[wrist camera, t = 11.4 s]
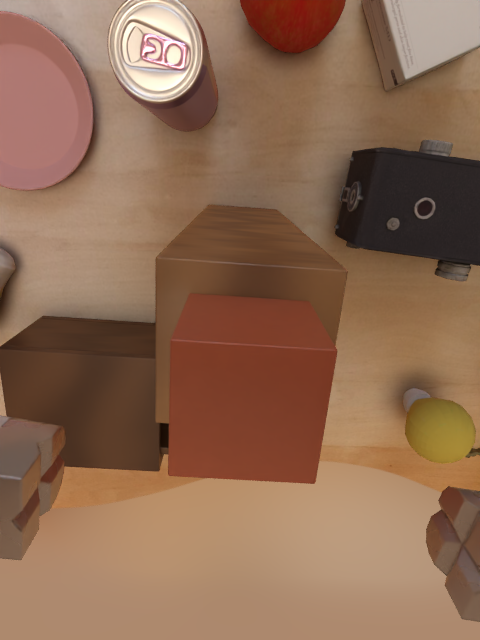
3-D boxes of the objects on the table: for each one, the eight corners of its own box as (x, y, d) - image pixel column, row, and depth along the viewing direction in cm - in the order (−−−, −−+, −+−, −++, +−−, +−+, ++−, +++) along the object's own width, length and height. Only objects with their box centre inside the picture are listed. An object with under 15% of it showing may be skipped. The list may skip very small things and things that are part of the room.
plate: (131, 110, 38) (125, 106, 36) (40, 220, 41) (31, 222, 39) (2, -23, 34) (-12, -34, 33) (-86, 109, 38) (-102, 106, 36)
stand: (277, 209, 41) (348, 270, 15) (270, 276, 43) (321, 433, 17) (208, 204, 41) (155, 256, 14) (205, 272, 43) (155, 423, 17)
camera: (323, 245, 43) (466, 264, 43) (338, 267, 33) (527, 293, 32) (344, 138, 40) (499, 156, 39) (367, 123, 29) (582, 148, 28)
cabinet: (174, 324, 45) (159, 359, 37) (172, 420, 49) (159, 471, 41) (42, 315, 45) (-4, 348, 36) (52, 413, 49) (13, 463, 40)
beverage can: (211, 139, 39) (195, 117, 25) (149, 123, 38) (98, 92, 24) (224, 69, 37) (216, 2, 23) (160, 52, 36) (110, -28, 22)
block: (309, 300, 15) (338, 349, 11) (295, 405, 17) (315, 484, 12) (189, 292, 15) (170, 338, 11) (185, 399, 16) (167, 476, 12)
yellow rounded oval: (437, 365, 47) (487, 412, 38) (444, 413, 49) (492, 469, 40) (380, 380, 48) (415, 430, 38) (389, 426, 50) (424, 484, 40)
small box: (358, 0, 35) (377, -27, 30) (446, -44, 34) (481, -80, 29) (383, 94, 38) (404, 82, 33) (467, 55, 37) (502, 37, 32)
